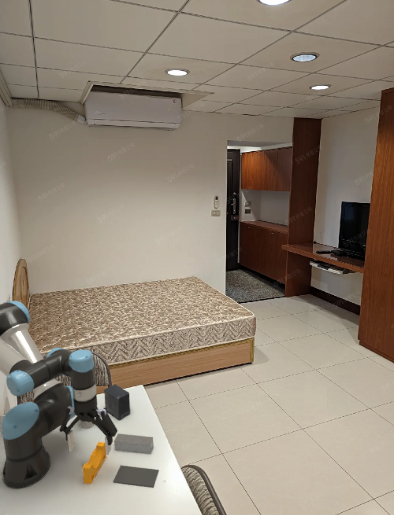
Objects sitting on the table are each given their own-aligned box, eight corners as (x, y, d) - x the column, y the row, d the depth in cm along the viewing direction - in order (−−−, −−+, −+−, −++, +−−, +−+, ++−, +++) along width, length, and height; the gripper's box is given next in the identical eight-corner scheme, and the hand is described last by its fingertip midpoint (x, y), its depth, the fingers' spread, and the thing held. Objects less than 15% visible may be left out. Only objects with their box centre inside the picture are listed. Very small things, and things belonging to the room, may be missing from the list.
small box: (131, 413, 153) (130, 392, 151) (119, 421, 149) (117, 399, 146) (116, 403, 160) (115, 383, 158) (104, 410, 155) (103, 389, 153)
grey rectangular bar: (114, 450, 133) (114, 440, 132) (118, 442, 136) (118, 433, 136) (150, 454, 131) (150, 444, 130) (153, 446, 134) (153, 437, 134)
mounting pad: (113, 482, 118) (113, 481, 118) (120, 466, 125) (120, 465, 125) (153, 487, 116) (153, 486, 116) (158, 470, 123) (158, 469, 123)
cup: (101, 421, 148) (99, 396, 146) (86, 432, 142) (84, 406, 139) (88, 415, 153) (86, 390, 150) (73, 425, 146) (70, 400, 143)
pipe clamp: (95, 455, 130) (94, 441, 129) (106, 457, 129) (105, 442, 128) (79, 482, 119) (77, 466, 117) (91, 484, 118) (89, 468, 116)
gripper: (44, 399, 116) (51, 454, 121) (116, 405, 112) (120, 462, 117) (56, 386, 123) (62, 439, 128) (124, 391, 120) (128, 445, 124)
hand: (90, 450), depth 122 cm, fingers open, 13 cm apart
